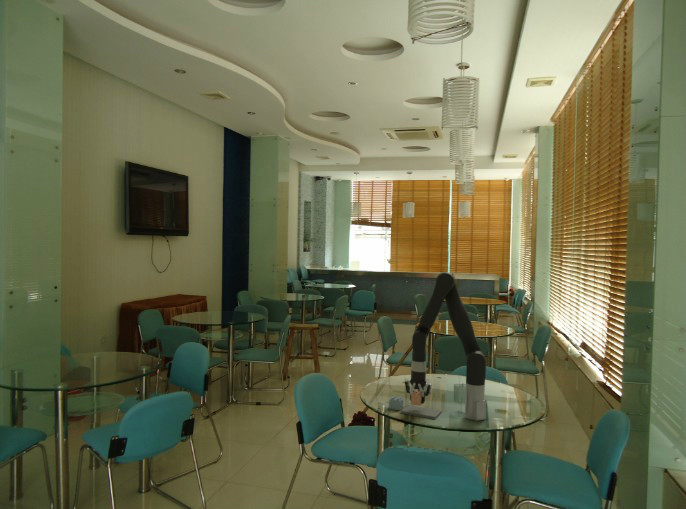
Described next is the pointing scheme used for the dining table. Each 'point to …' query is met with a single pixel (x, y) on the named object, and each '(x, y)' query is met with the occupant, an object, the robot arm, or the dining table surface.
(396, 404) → the brick slate
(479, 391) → the robot arm
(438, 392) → the dining table surface
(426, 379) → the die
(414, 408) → the baseplate
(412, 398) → the brick terracotta
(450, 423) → the dining table surface
